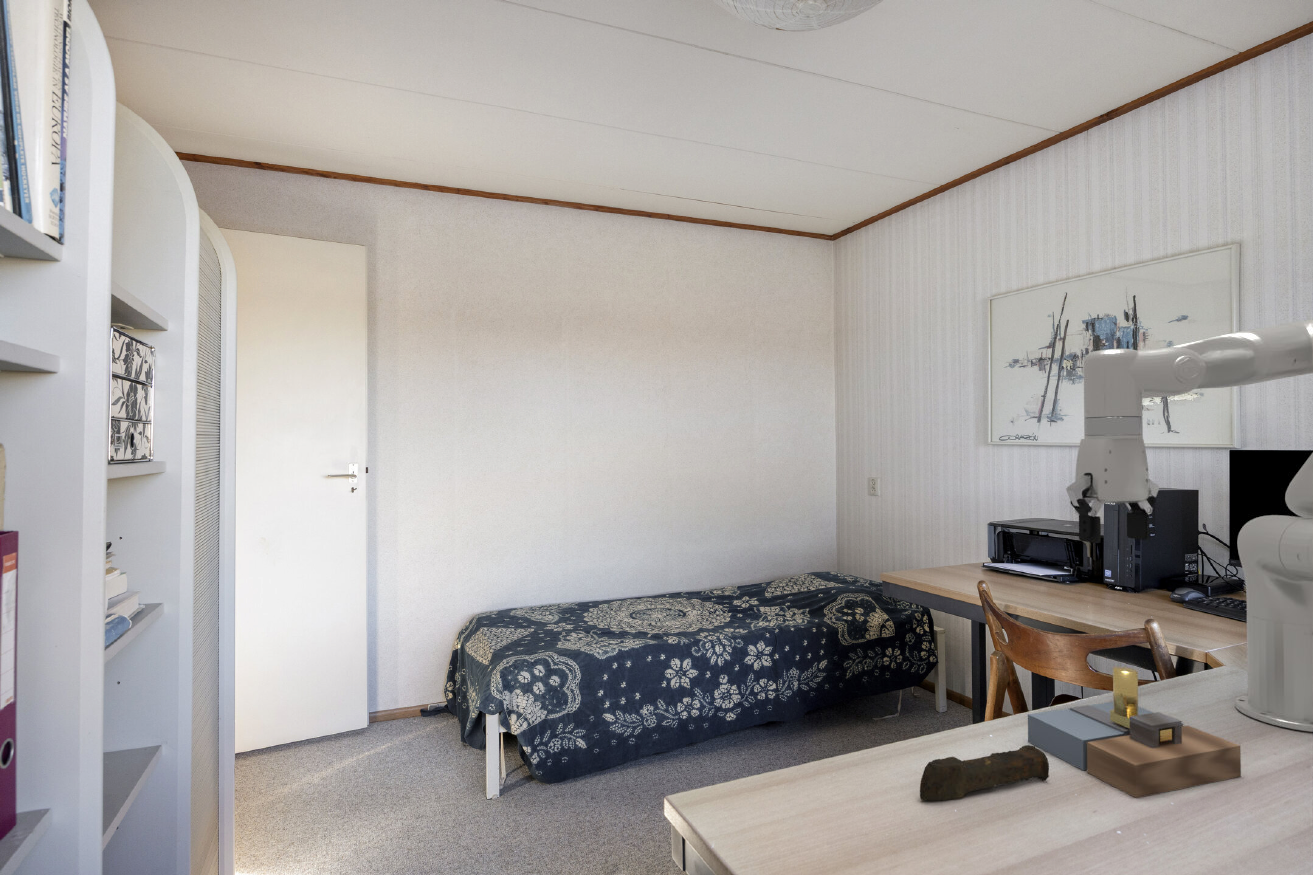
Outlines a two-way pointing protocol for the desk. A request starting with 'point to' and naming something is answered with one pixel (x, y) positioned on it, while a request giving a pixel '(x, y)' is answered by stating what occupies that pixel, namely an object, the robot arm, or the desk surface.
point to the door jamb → (1162, 757)
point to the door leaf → (1074, 730)
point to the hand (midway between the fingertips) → (1114, 540)
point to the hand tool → (981, 773)
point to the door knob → (1128, 699)
